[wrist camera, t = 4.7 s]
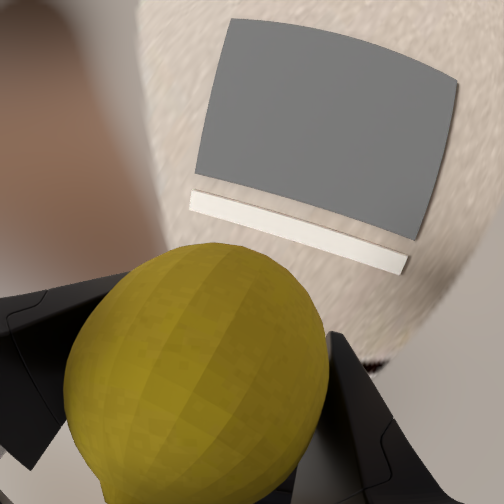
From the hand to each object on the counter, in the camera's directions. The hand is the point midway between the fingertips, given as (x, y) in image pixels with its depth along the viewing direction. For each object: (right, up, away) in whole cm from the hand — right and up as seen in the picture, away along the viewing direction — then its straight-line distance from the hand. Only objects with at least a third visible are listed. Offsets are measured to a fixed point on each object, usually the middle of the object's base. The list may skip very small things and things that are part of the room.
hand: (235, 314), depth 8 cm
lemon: (0, +1, +2) cm, 2 cm away
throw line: (+4, +3, +11) cm, 12 cm away
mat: (+5, +10, +8) cm, 14 cm away
